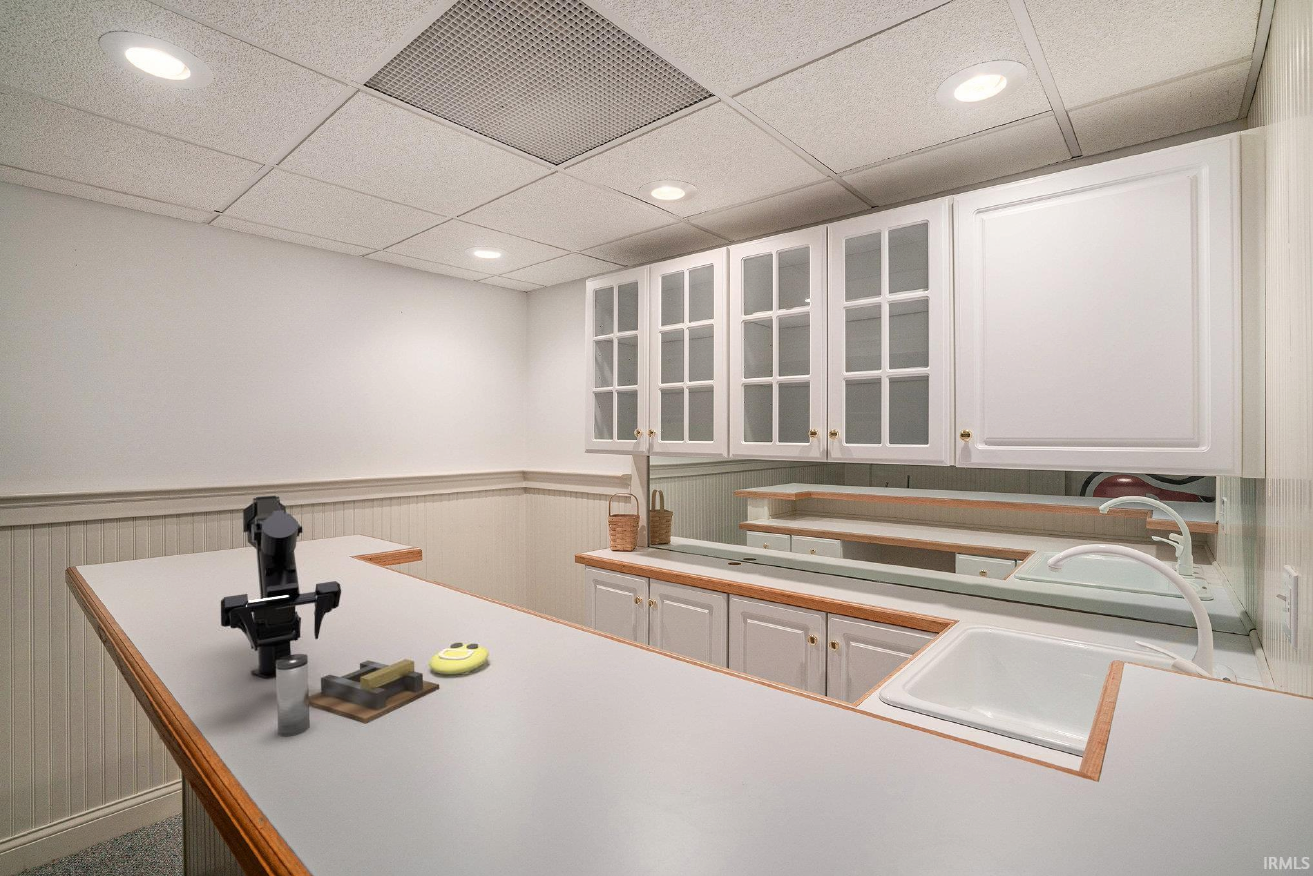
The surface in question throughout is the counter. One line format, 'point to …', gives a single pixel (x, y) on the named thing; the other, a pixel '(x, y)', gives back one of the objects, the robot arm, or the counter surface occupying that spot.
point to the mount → (368, 693)
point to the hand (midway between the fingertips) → (287, 643)
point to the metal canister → (292, 694)
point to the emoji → (458, 659)
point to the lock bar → (386, 674)
